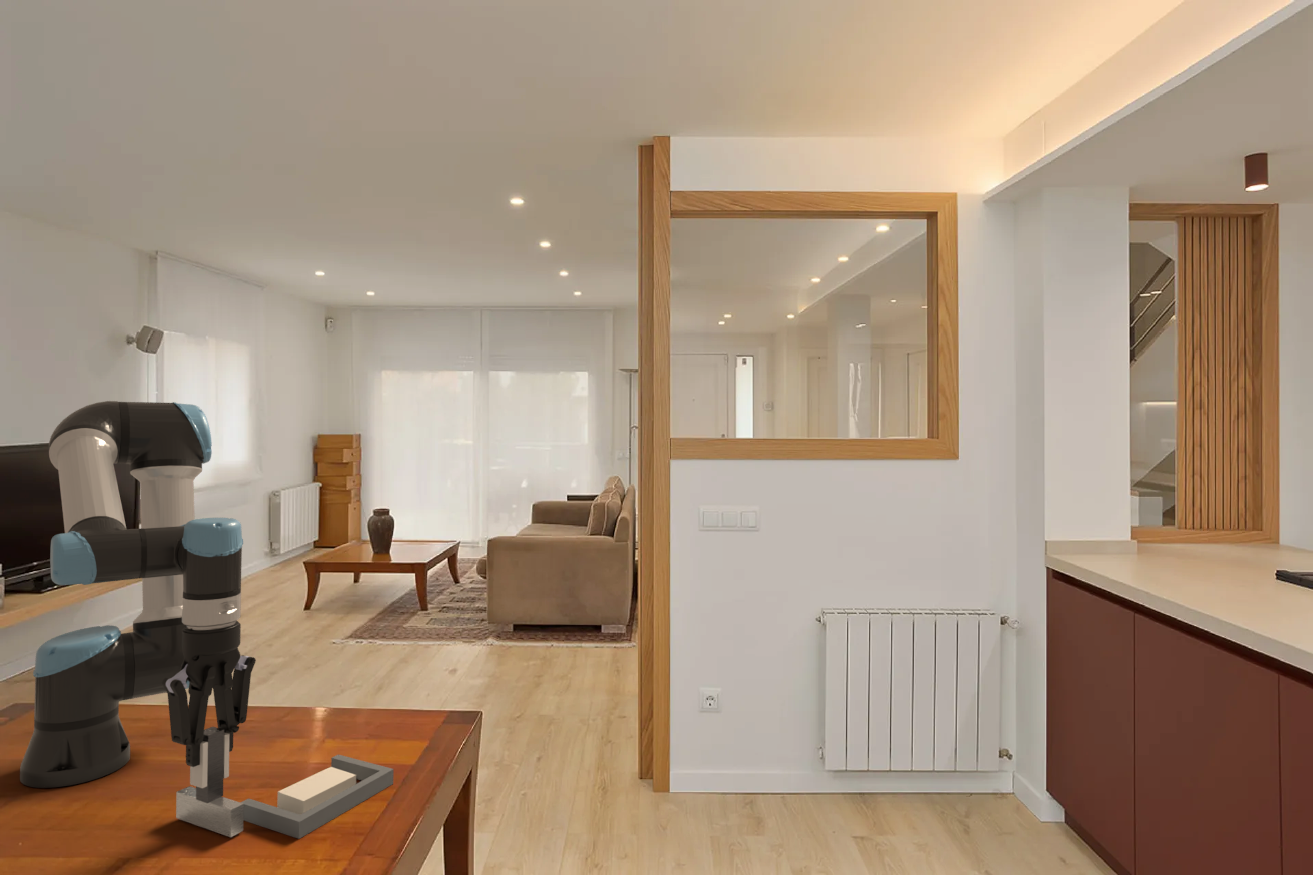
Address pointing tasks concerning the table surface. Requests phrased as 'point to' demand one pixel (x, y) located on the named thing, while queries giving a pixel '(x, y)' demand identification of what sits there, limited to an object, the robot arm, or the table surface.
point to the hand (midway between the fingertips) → (209, 779)
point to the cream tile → (314, 790)
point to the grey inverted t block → (211, 794)
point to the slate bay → (301, 825)
